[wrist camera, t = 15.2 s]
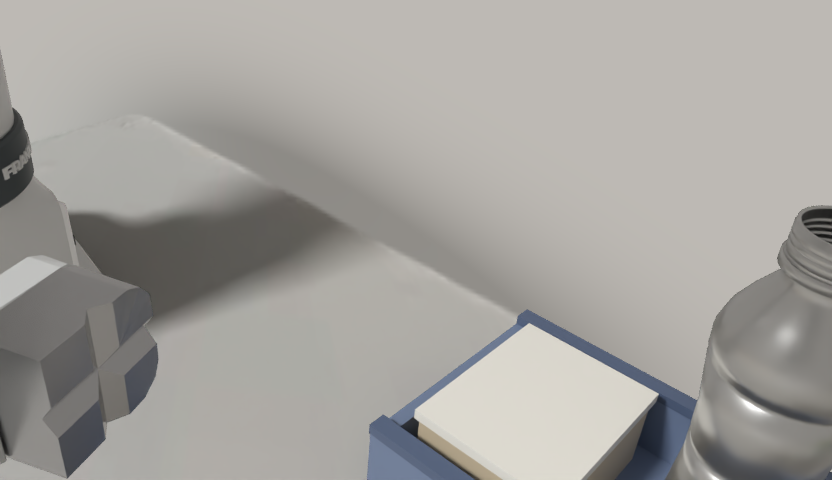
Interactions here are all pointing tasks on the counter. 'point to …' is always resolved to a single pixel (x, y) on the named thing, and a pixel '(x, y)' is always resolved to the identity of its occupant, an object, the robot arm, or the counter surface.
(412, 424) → the tote
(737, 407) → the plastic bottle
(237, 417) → the counter surface
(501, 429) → the carton
